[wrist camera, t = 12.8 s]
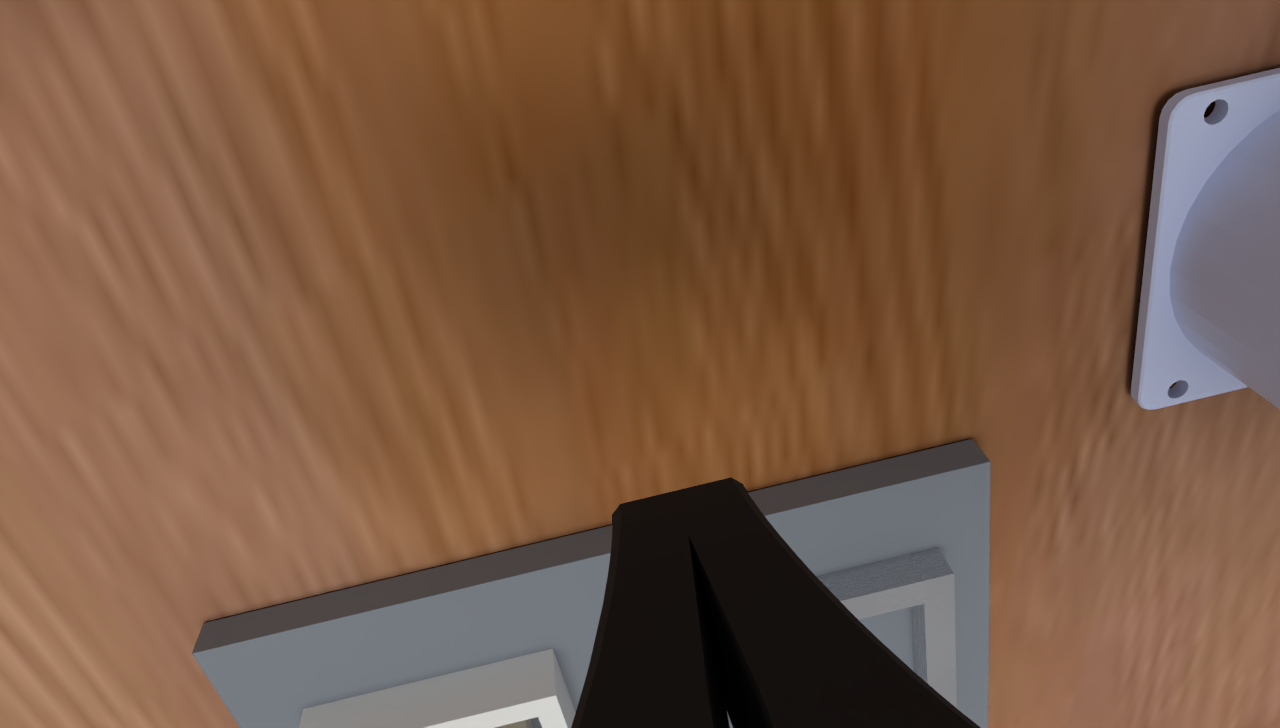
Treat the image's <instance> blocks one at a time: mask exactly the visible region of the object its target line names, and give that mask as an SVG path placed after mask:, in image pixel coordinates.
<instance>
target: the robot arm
mask: <svg viewBox="0 0 1280 728" xmlns="http://www.w3.org/2000/svg"><path fill="white" fill-rule="evenodd" d="M1213 101H1215V104H1216V105H1215V107H1214V110H1213V112H1212V113H1211V114H1210V115H1209V116H1208V117H1206V118H1204V113H1205V110H1206V108H1207V107H1208V106H1209V105H1210V104H1211V102H1213ZM1175 382H1177V383H1176V384H1175V385H1174V386H1173V387H1172V388H1170V389H1169V387H1170V386H1171V385H1172V384H1173V383H1175ZM1247 387H1249V388H1250V389H1252V390H1253V391H1255V392H1256V393H1257V394H1259V395H1260V396H1261V397H1263V398H1264V399H1266V400H1267V401H1268V402H1270V403H1271V404H1273V405H1274V406H1275V407H1277V408H1278V409H1279V410H1280V68H1276V69H1272V70H1268V71H1263V72H1259V73H1255V74H1250V75H1246V76H1242V77H1238V78H1233V79H1229V80H1225V81H1220V82H1216V83H1212V84H1208V85H1203V86H1199V87H1195V88H1191V89H1186V90H1183V91H1181V92H1179V93H1176V94H1175V95H1174V96H1173V97H1171V98H1170V99H1169V100H1168V101H1167V103H1166V104H1165V106H1164V107H1163V109H1162V111H1161V115H1160V118H1159V127H1158V137H1157V146H1156V156H1155V165H1154V175H1153V184H1152V194H1151V203H1150V213H1149V222H1148V232H1147V241H1146V251H1145V260H1144V270H1143V279H1142V289H1141V299H1140V308H1139V318H1138V327H1137V337H1136V346H1135V356H1134V365H1133V375H1132V384H1131V397H1132V399H1133V400H1134V401H1135V402H1136V403H1137V404H1138V405H1140V406H1141V407H1142V408H1144V409H1147V410H1155V409H1159V408H1164V407H1168V406H1172V405H1176V404H1180V403H1184V402H1189V401H1193V400H1197V399H1201V398H1205V397H1209V396H1214V395H1218V394H1222V393H1226V392H1230V391H1234V390H1239V389H1243V388H1247ZM727 713H728V714H727ZM728 715H729V718H730V721H731V724H732V727H733V728H981V727H979V726H978V725H977V724H976V723H974V722H973V721H972V720H971V719H969V718H968V717H967V716H966V715H964V714H963V713H962V712H961V711H959V710H958V709H957V708H956V707H955V706H953V705H952V704H951V703H950V702H949V701H947V700H946V699H945V698H944V697H943V696H941V695H940V694H939V693H938V692H937V691H936V690H934V689H933V688H932V687H931V686H930V685H929V684H928V683H926V682H925V681H924V680H923V679H922V678H921V677H920V676H918V675H917V674H916V673H915V672H914V671H913V670H912V669H911V668H909V667H908V666H907V665H906V664H905V663H904V662H903V661H902V660H901V659H900V658H898V657H897V656H896V655H895V654H894V653H893V652H892V651H891V650H890V649H889V648H888V647H886V646H885V645H884V644H883V643H882V642H881V641H880V640H879V639H878V638H877V637H876V636H875V635H874V634H873V633H872V632H871V631H869V630H868V629H867V628H866V627H865V626H864V625H863V624H862V623H861V622H860V621H859V620H858V619H857V618H856V617H855V616H854V615H853V614H852V613H851V612H850V611H849V610H848V609H847V608H846V607H845V606H844V605H843V604H842V603H841V602H840V601H839V599H838V598H837V597H836V596H835V595H834V594H833V593H832V592H831V591H830V590H829V589H828V588H827V587H826V586H825V585H824V584H823V583H822V582H821V581H820V580H819V579H818V578H817V577H816V576H815V575H814V574H813V572H812V571H811V570H810V569H809V568H808V567H807V566H806V565H805V564H804V562H803V561H802V560H801V559H800V558H799V557H798V556H797V555H796V553H795V552H794V551H793V550H792V549H791V548H790V546H789V545H788V544H787V543H786V542H785V541H784V539H783V538H782V537H781V536H780V535H779V533H778V532H777V531H776V530H775V529H774V527H773V526H772V525H771V524H770V522H769V521H768V520H767V518H766V517H765V516H764V515H763V513H762V512H761V511H760V509H759V508H758V506H757V505H756V504H755V502H754V501H753V499H752V498H751V497H750V495H749V494H748V492H747V491H746V489H745V487H744V486H743V484H742V483H740V482H738V481H736V480H735V479H733V478H727V479H723V480H719V481H715V482H711V483H706V484H702V485H698V486H694V487H690V488H686V489H681V490H677V491H673V492H669V493H665V494H660V495H656V496H652V497H648V498H644V499H640V500H635V501H631V502H627V503H623V504H620V505H619V507H618V508H617V509H616V510H615V512H614V513H613V514H612V543H611V554H610V563H609V570H608V577H607V583H606V588H605V594H604V600H603V606H602V610H601V615H600V619H599V624H598V628H597V633H596V637H595V642H594V646H593V651H592V655H591V659H590V664H589V668H588V671H587V675H586V679H585V682H584V686H583V689H582V693H581V696H580V699H579V703H578V706H577V710H576V713H575V716H574V720H573V723H572V727H571V728H730V726H729V720H728Z"/></svg>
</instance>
